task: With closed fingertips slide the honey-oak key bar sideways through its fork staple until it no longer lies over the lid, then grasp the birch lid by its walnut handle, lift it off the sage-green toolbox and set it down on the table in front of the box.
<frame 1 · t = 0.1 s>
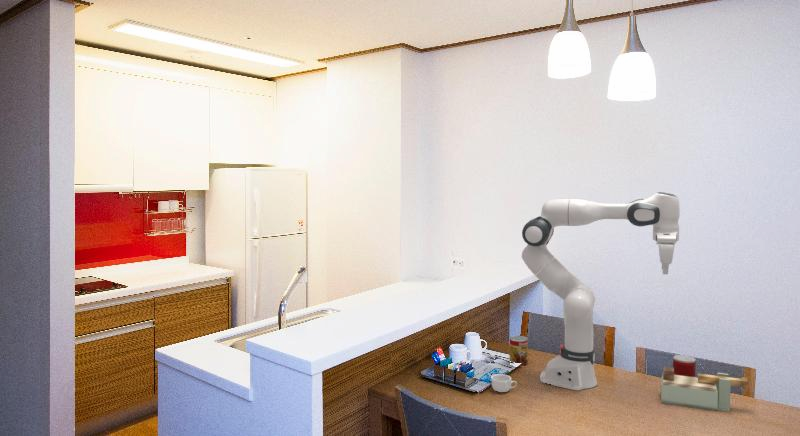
hand: (664, 271, 205), 48 cm above the table, fingers open, 8 cm apart
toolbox: (687, 402, 202), on the table
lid: (688, 383, 201), point 7 cm above the table, touching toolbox
canned food 2: (518, 364, 244), on the table
canned food: (683, 385, 218), on the table
teacup: (504, 391, 215), on the table
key: (722, 380, 197), point 10 cm above the table, slide at 0.0 cm
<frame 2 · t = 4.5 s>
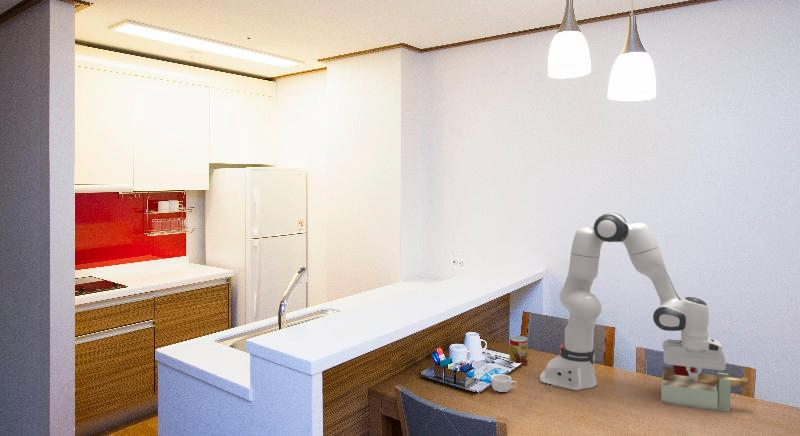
hand: (693, 378, 201), 9 cm above the table, fingers closed
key: (722, 380, 197), point 10 cm above the table, slide at 0.0 cm, touching gripper
everything else where it was.
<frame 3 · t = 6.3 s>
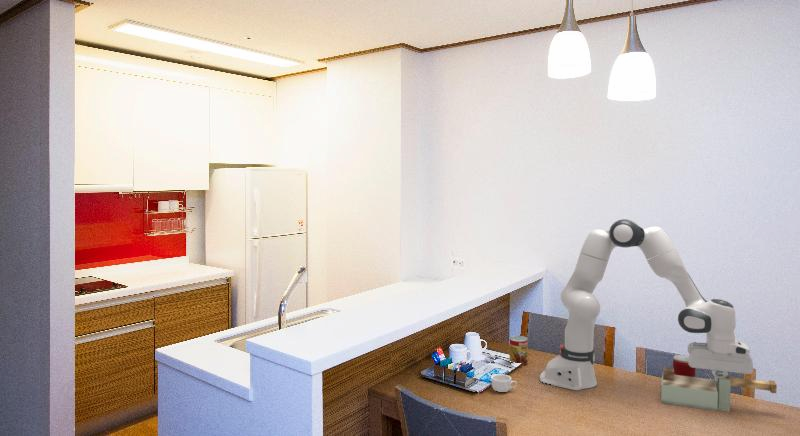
hand: (719, 381, 197), 9 cm above the table, fingers closed
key: (749, 383, 193), point 10 cm above the table, slide at 8.3 cm, touching gripper
everything else where it was.
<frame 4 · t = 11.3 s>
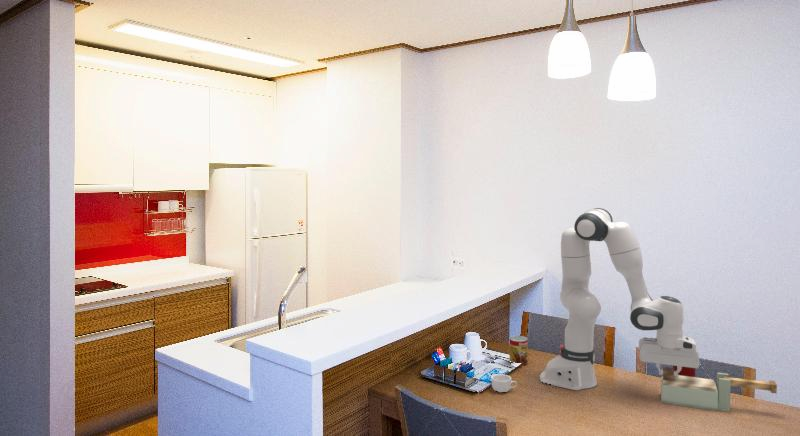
hand: (668, 375, 204), 9 cm above the table, fingers closed on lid, 3 cm apart
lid: (688, 383, 201), point 7 cm above the table, touching gripper, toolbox
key: (749, 383, 193), point 10 cm above the table, slide at 8.4 cm
everything else where it was.
when the fingers open (4 cm above the table, at t = 16.4 s): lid drops 1 cm, on the table.
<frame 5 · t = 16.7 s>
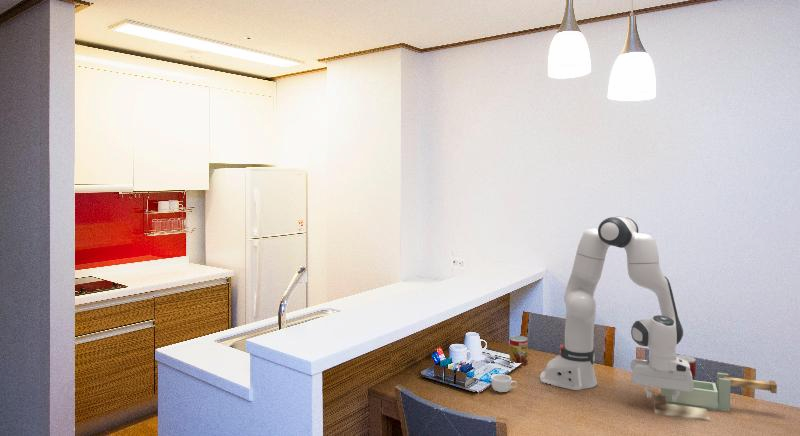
hand: (661, 398, 196), 4 cm above the table, fingers open, 7 cm apart
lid: (680, 413, 194), on the table
everything else where it was.
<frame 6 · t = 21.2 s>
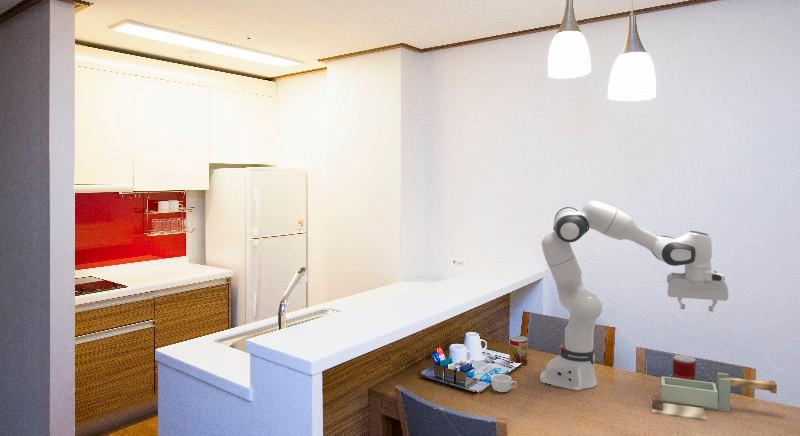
hand: (696, 310, 206), 33 cm above the table, fingers open, 8 cm apart
nothing on the table moved.
at the end: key slide at 8.4 cm; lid inside the target area (0.9 cm from its centre), on the table; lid tilted 0° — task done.
